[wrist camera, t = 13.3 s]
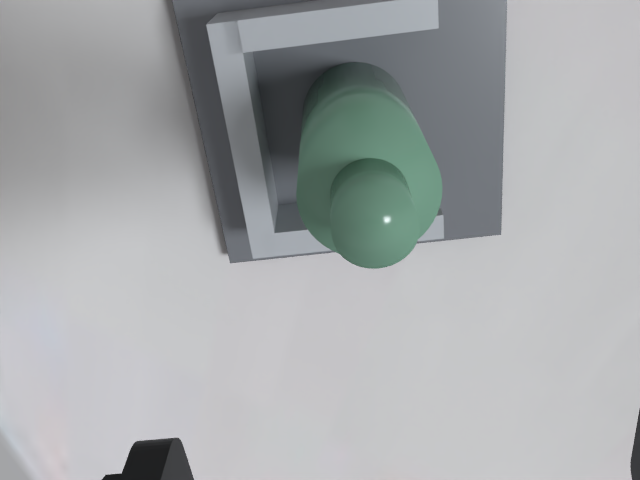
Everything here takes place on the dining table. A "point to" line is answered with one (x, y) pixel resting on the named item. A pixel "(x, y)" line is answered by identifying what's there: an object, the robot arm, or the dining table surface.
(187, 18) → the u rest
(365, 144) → the green bottle
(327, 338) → the dining table surface
